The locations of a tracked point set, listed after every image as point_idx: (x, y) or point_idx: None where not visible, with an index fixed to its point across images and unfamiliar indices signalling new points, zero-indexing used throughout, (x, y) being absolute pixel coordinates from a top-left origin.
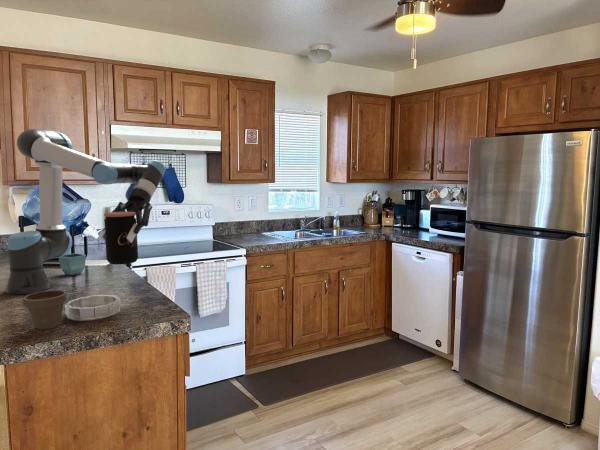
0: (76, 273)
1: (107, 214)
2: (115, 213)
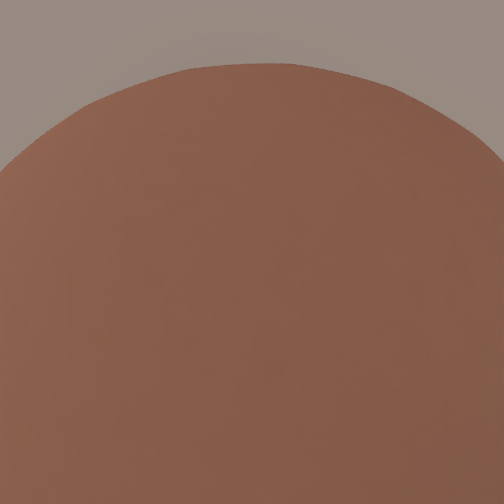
0: None
1: (280, 66)
2: (224, 192)
